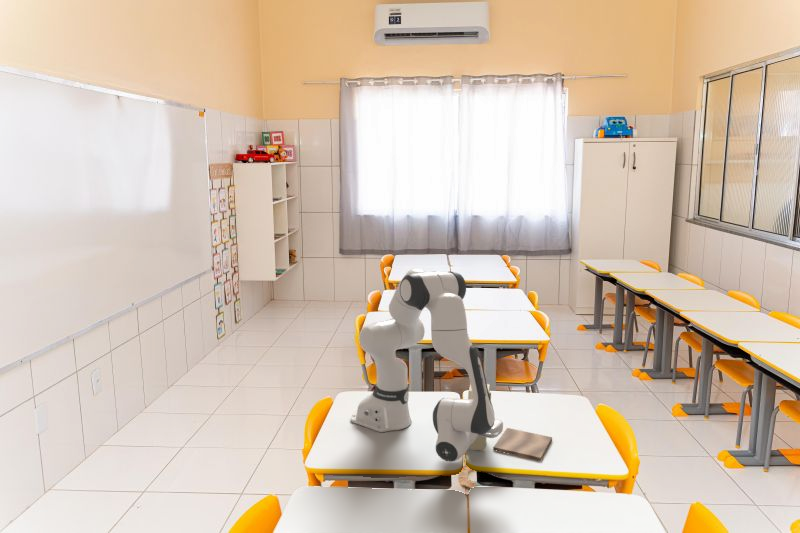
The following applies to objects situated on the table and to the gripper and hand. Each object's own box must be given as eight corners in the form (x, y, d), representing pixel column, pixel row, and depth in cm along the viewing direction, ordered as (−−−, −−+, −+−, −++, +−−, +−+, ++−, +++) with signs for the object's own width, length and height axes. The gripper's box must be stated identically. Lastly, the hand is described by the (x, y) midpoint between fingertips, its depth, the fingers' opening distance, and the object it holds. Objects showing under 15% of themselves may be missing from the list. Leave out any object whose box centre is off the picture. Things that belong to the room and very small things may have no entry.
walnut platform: (493, 450, 212) (493, 447, 211) (507, 430, 226) (507, 427, 226) (540, 461, 205) (540, 457, 205) (551, 440, 219) (552, 437, 219)
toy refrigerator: (487, 452, 211) (490, 392, 206) (465, 449, 212) (467, 390, 208) (488, 441, 218) (491, 383, 214) (467, 438, 220) (470, 381, 215)
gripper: (496, 428, 196) (509, 411, 209) (435, 415, 205) (451, 399, 217) (495, 446, 198) (508, 428, 210) (435, 433, 206) (450, 416, 219)
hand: (478, 414), depth 214 cm, fingers closed on toy refrigerator, 7 cm apart
